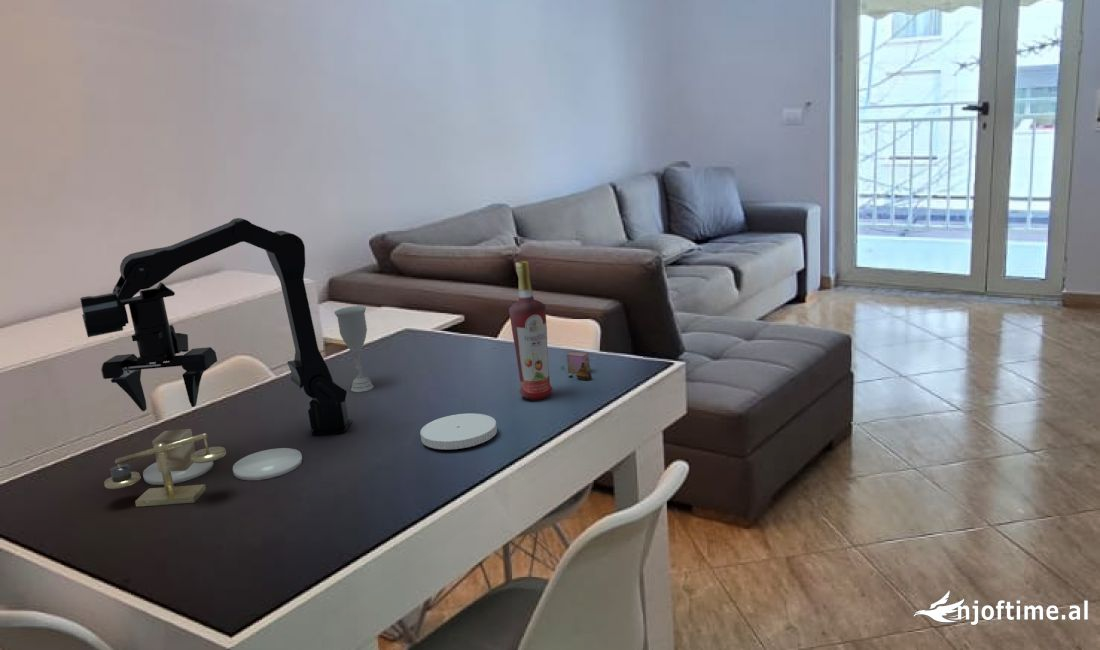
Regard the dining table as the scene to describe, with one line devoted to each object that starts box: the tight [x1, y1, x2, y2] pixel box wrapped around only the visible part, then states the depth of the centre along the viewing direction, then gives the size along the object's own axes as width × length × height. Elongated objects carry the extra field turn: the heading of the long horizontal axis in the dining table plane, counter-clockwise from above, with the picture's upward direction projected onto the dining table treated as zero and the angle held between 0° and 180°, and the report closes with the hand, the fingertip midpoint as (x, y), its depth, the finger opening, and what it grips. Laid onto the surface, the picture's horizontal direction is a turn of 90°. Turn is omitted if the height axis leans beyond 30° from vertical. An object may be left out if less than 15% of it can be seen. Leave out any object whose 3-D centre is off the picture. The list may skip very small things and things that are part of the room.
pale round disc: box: [142, 461, 215, 486], centre depth 169 cm, size 12×12×1 cm
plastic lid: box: [419, 413, 498, 450], centre depth 171 cm, size 14×14×2 cm
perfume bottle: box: [566, 350, 592, 381], centre depth 201 cm, size 12×12×4 cm
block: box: [151, 428, 197, 472], centre depth 168 cm, size 5×5×6 cm
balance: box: [103, 433, 227, 507], centre depth 156 cm, size 21×6×11 cm, turn 87°
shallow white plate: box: [232, 447, 303, 482], centre depth 167 cm, size 12×12×1 cm
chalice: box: [333, 305, 374, 393], centre depth 205 cm, size 7×7×18 cm
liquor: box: [508, 260, 554, 401], centre depth 186 cm, size 7×7×28 cm
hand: (169, 408), depth 167 cm, fingers open, 9 cm apart
